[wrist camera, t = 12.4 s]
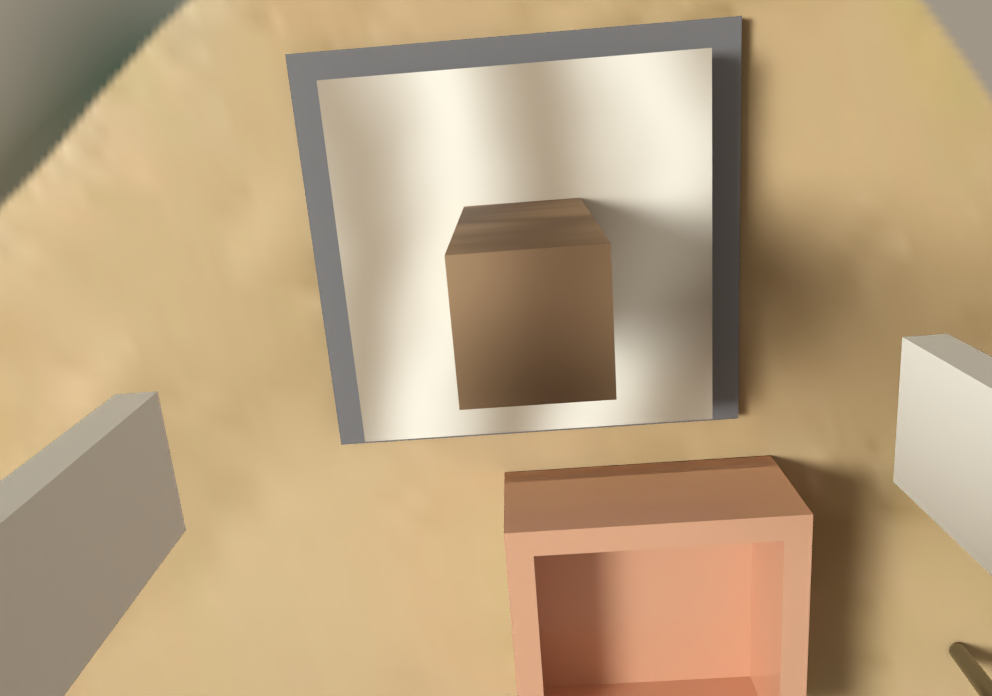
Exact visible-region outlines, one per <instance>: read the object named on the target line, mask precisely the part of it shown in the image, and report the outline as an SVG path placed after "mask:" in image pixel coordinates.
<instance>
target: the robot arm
mask: <svg viewBox="0 0 992 696" xmlns="http://www.w3.org/2000/svg"><path fill="white" fill-rule="evenodd" d="M893 482H894V483H895V484H896V485H897V486H898V487H900V488H901V489H902V490H903V491H904V492H905V493H906V494H907V495H908V496H909V497H910V498H911V499H912V500H913V501H914V502H915V503H916V504H917V505H918V506H919V507H920V508H921V509H922V510H923V511H925V512H926V513H927V514H928V515H929V516H930V517H931V518H932V519H933V520H934V521H935V522H936V523H937V524H938V525H939V526H940V527H941V528H942V529H943V530H944V531H945V532H946V533H947V534H949V535H950V536H951V537H952V538H953V539H954V540H955V541H956V542H957V543H958V544H959V545H960V546H961V547H962V548H963V549H964V550H965V551H966V552H967V553H968V554H969V555H970V556H971V557H972V558H974V559H975V560H976V561H977V562H978V563H979V564H980V565H981V566H982V567H983V568H984V569H985V570H986V571H987V572H988V573H989V574H990V575H991V576H992V357H991V356H989V355H987V354H985V353H983V352H981V351H979V350H978V349H976V348H974V347H972V346H970V345H968V344H966V343H964V342H962V341H960V340H958V339H956V338H954V337H952V336H950V335H948V334H937V335H924V336H910V337H902V352H901V368H900V384H899V400H898V415H897V431H896V447H895V463H894V479H893ZM185 531H186V528H185V524H184V519H183V514H182V509H181V504H180V499H179V494H178V489H177V484H176V480H175V475H174V470H173V465H172V460H171V455H170V450H169V445H168V440H167V436H166V431H165V426H164V421H163V416H162V411H161V406H160V401H159V396H158V392H157V391H156V392H143V393H129V394H115V395H114V396H112V397H111V398H110V399H108V400H107V401H106V402H104V403H103V404H102V405H101V406H99V407H98V408H97V409H95V410H94V411H93V412H91V413H90V414H89V415H87V416H86V417H85V418H83V419H82V420H81V421H79V422H78V423H77V424H75V425H74V426H73V427H71V428H70V429H69V430H67V431H66V432H65V433H64V434H62V435H61V436H60V437H58V438H57V439H56V440H54V441H53V442H52V443H50V444H49V445H48V446H46V447H45V448H44V449H42V450H41V451H40V452H38V453H37V454H36V455H34V456H33V457H32V458H30V459H29V460H28V461H26V462H25V463H24V464H23V465H21V466H20V467H19V468H17V469H16V470H15V471H13V472H12V473H11V474H9V475H8V476H7V477H5V478H4V479H3V480H1V481H0V696H64V695H65V694H66V692H67V691H68V690H69V688H70V687H71V685H72V684H73V683H74V681H75V680H76V679H77V677H78V676H79V675H80V673H81V672H82V671H83V669H84V668H85V666H86V665H87V664H88V662H89V661H90V660H91V658H92V657H93V656H94V654H95V653H96V651H97V650H98V649H99V647H100V646H101V645H102V643H103V642H104V641H105V639H106V638H107V637H108V635H109V634H110V632H111V631H112V630H113V628H114V627H115V626H116V624H117V623H118V622H119V620H120V619H121V618H122V616H123V615H124V613H125V612H126V611H127V609H128V608H129V607H130V605H131V604H132V603H133V601H134V600H135V598H136V597H137V596H138V594H139V593H140V592H141V590H142V589H143V588H144V586H145V585H146V584H147V582H148V581H149V579H150V578H151V577H152V575H153V574H154V573H155V571H156V570H157V569H158V567H159V566H160V565H161V563H162V562H163V560H164V559H165V558H166V556H167V555H168V554H169V552H170V551H171V550H172V548H173V547H174V545H175V544H176V543H177V541H178V540H179V539H180V537H181V536H182V535H183V533H184V532H185Z"/></svg>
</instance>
